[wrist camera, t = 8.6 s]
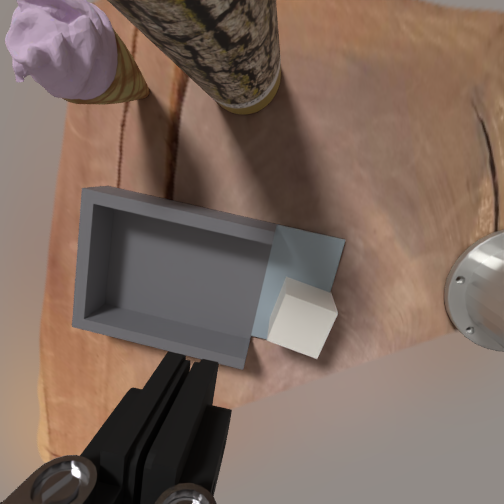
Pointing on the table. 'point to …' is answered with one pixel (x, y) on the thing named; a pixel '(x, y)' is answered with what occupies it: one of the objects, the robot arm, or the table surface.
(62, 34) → the ice cream cone
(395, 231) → the table surface
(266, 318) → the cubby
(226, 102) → the paper tube
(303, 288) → the cream block
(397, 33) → the table surface
